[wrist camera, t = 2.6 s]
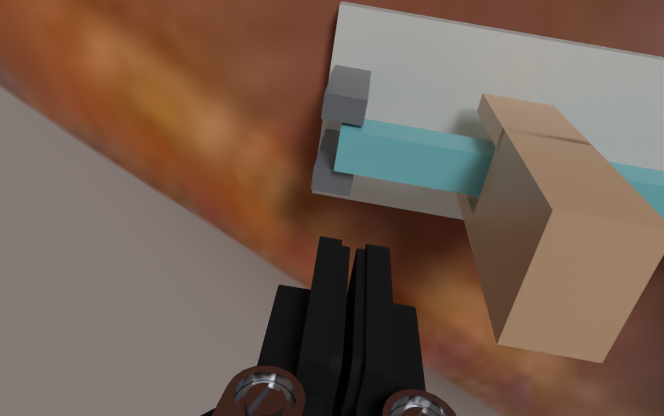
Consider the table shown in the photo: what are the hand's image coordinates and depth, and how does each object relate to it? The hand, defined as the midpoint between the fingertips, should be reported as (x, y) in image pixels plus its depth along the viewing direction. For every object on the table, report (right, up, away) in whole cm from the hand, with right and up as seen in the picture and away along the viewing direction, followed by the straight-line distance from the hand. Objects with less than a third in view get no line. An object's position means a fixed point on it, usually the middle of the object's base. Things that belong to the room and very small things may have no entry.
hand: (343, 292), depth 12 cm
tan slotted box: (+7, +5, +10) cm, 13 cm away
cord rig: (+11, +5, +12) cm, 17 cm away
